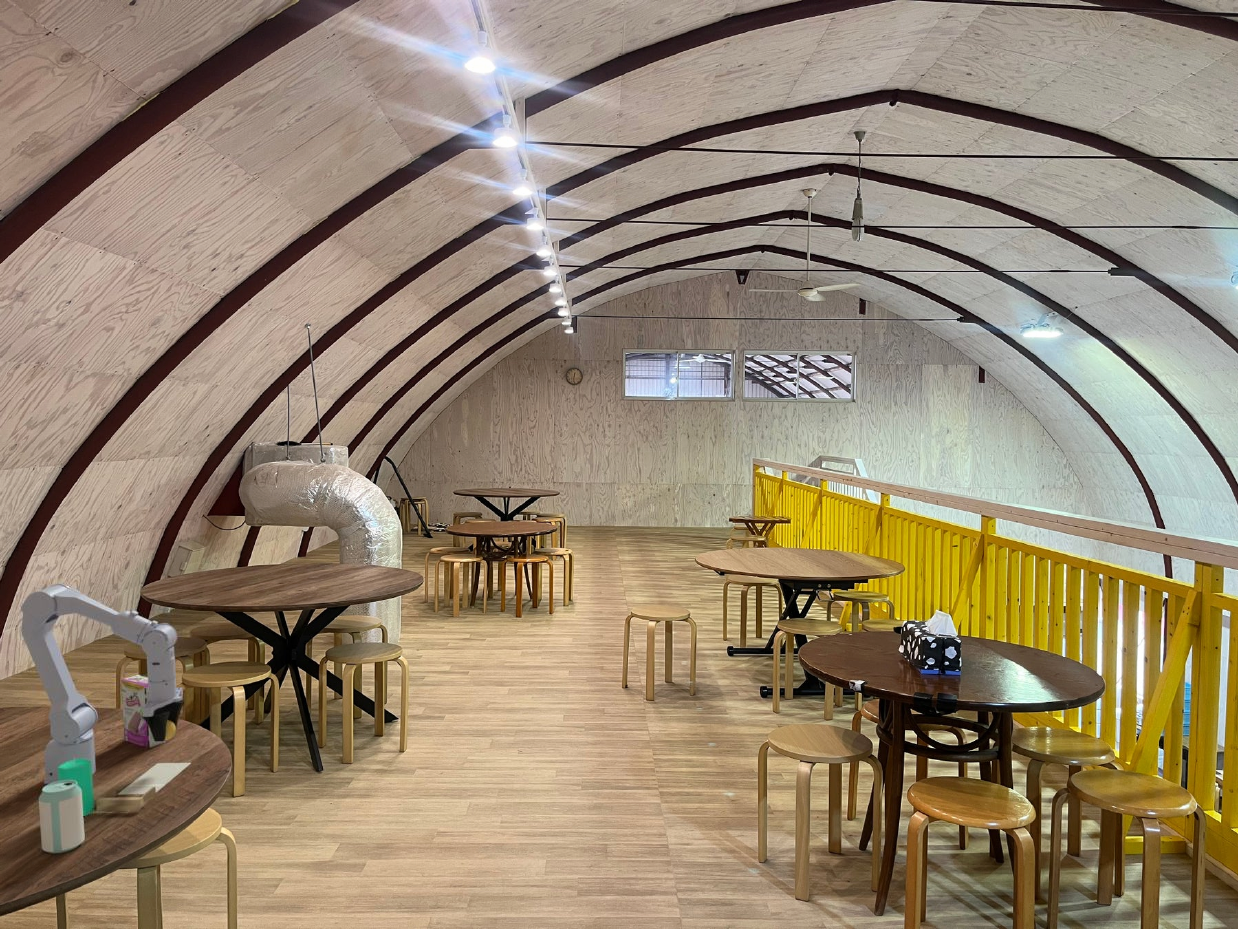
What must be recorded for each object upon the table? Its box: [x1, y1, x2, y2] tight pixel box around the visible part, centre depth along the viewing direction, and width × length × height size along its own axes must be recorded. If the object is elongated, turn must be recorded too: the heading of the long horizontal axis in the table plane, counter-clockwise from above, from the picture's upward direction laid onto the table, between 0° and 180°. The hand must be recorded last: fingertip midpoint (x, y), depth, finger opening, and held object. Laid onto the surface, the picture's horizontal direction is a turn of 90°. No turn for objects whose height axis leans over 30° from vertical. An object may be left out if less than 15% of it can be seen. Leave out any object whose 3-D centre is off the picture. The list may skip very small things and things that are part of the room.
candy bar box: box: [120, 674, 168, 749], centre depth 231 cm, size 11×5×16 cm, turn 58°
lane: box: [116, 762, 192, 796], centre depth 205 cm, size 8×22×1 cm, turn 179°
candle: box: [58, 757, 95, 817], centre depth 192 cm, size 6×6×12 cm
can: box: [38, 780, 86, 854], centre depth 178 cm, size 7×7×12 cm
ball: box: [164, 720, 177, 741], centre depth 212 cm, size 4×4×4 cm
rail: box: [95, 787, 157, 812], centre depth 196 cm, size 9×6×2 cm
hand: (165, 736), depth 212 cm, fingers closed on ball, 4 cm apart
